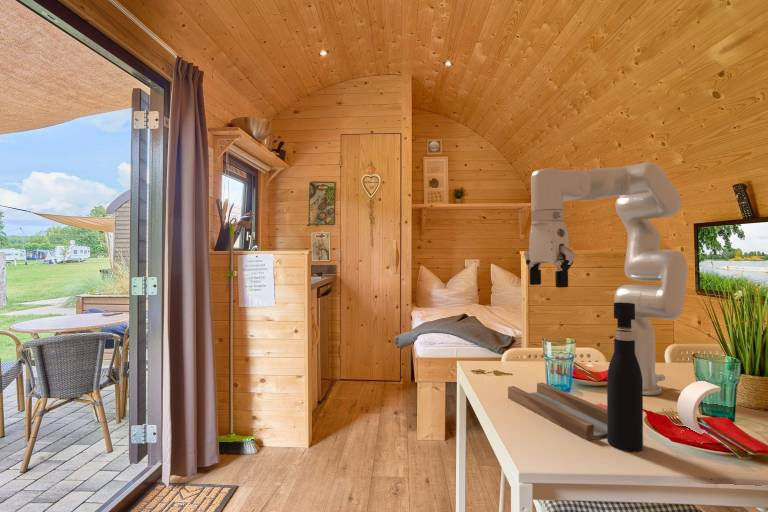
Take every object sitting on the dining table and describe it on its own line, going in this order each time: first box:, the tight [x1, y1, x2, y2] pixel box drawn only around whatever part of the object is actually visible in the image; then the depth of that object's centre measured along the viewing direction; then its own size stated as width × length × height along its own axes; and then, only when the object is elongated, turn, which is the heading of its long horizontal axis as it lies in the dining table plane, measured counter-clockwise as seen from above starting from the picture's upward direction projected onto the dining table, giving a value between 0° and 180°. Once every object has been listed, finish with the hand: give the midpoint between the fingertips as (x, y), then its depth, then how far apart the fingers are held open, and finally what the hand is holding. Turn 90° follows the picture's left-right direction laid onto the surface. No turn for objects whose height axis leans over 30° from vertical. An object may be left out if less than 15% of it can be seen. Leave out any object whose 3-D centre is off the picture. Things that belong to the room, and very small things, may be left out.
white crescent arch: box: [676, 380, 722, 444], centre depth 86 cm, size 5×6×12 cm
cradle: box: [507, 382, 608, 441], centre depth 101 cm, size 12×28×3 cm, turn 19°
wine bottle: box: [606, 302, 644, 453], centre depth 84 cm, size 6×6×30 cm
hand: (548, 285), depth 100 cm, fingers open, 9 cm apart
